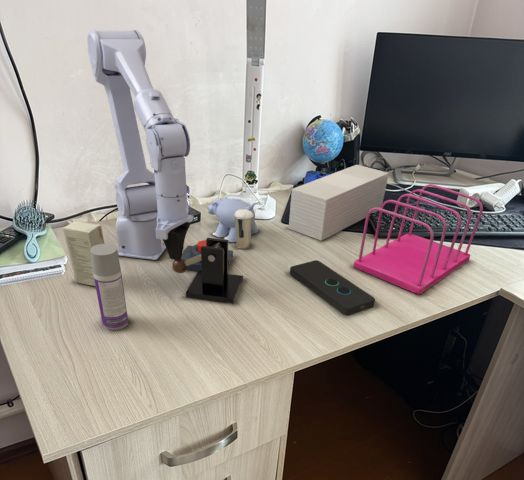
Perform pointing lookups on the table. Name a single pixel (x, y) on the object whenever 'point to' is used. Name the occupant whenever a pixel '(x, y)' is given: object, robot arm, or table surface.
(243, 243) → the milkshake
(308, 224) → the stack of papers
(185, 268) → the lever
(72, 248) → the cosmetic box
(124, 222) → the robot arm
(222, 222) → the hippopotamus toy
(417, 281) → the file sorter
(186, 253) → the button box
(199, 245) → the button
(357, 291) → the smart home device
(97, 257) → the container
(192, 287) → the switch bracket
